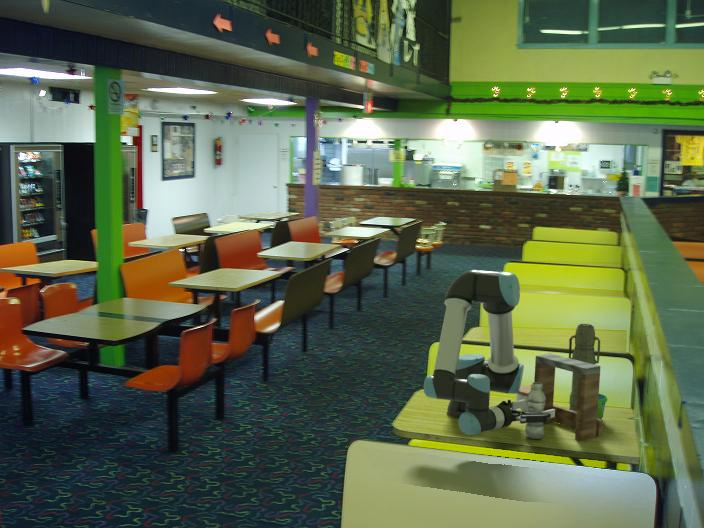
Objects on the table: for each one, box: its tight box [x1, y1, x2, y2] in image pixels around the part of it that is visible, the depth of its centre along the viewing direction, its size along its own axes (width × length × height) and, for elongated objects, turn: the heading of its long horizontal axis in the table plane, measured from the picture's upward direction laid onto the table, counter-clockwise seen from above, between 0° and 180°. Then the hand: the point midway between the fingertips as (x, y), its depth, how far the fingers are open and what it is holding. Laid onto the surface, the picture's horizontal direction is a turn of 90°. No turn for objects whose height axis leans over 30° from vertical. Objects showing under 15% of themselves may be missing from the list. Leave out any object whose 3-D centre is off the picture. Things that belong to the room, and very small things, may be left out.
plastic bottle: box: [524, 382, 546, 440], centre depth 287 cm, size 6×7×20 cm
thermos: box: [568, 323, 601, 412], centre depth 323 cm, size 9×12×35 cm
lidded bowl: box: [515, 384, 532, 412], centre depth 320 cm, size 13×13×11 cm
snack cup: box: [597, 393, 608, 420], centre depth 310 cm, size 16×10×10 cm
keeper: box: [534, 353, 604, 442], centre depth 297 cm, size 23×12×26 cm, turn 36°
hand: (539, 408), depth 288 cm, fingers open, 13 cm apart
